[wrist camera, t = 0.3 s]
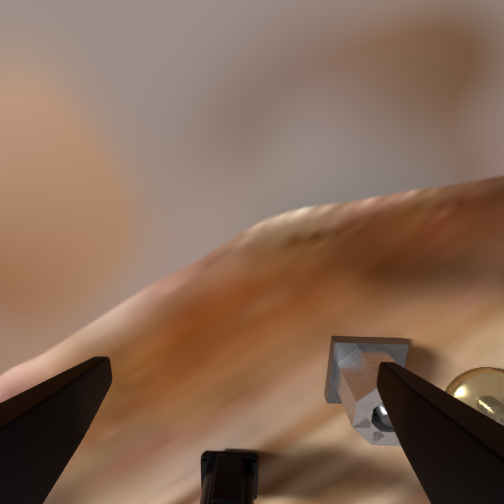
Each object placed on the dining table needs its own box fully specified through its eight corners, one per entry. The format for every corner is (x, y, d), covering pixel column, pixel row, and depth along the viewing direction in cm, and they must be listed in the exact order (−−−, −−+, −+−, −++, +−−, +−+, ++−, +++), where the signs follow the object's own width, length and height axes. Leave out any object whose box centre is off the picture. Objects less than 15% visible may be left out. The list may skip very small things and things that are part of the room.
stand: (390, 397, 25) (428, 452, 19) (324, 394, 25) (343, 449, 19) (402, 338, 23) (447, 381, 18) (331, 336, 23) (354, 378, 18)
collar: (392, 401, 24) (422, 446, 19) (332, 399, 24) (349, 444, 19) (403, 349, 22) (438, 385, 18) (339, 347, 22) (359, 383, 18)
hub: (502, 423, 25) (561, 478, 20) (437, 421, 25) (480, 475, 20) (521, 368, 24) (590, 413, 19) (452, 366, 24) (502, 410, 19)
